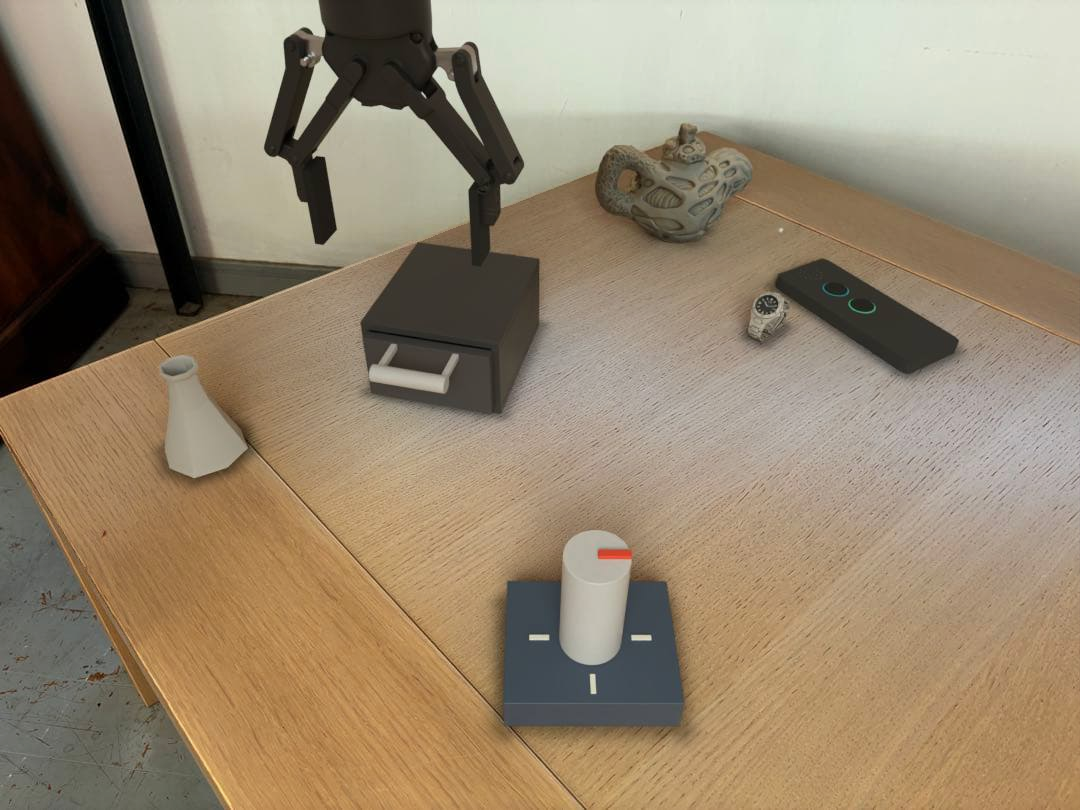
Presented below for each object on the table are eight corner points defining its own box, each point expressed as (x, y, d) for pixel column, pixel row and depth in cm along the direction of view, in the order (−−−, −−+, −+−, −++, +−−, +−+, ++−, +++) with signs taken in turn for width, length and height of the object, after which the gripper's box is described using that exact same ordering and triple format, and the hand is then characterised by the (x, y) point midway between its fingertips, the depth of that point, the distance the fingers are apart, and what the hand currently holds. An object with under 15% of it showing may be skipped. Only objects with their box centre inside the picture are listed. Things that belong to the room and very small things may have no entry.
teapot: (722, 204, 115) (740, 96, 105) (764, 244, 107) (787, 130, 97) (578, 226, 110) (583, 114, 100) (610, 269, 102) (618, 152, 92)
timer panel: (503, 726, 56) (503, 702, 54) (507, 604, 64) (507, 579, 62) (679, 726, 57) (685, 702, 55) (662, 605, 64) (666, 579, 62)
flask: (262, 450, 77) (238, 365, 70) (190, 490, 73) (157, 404, 66) (221, 414, 81) (195, 330, 74) (151, 451, 77) (116, 365, 70)
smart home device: (825, 255, 101) (963, 338, 88) (821, 268, 103) (957, 351, 90) (774, 273, 98) (910, 362, 85) (771, 286, 99) (905, 376, 86)
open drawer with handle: (475, 448, 76) (472, 388, 71) (350, 426, 78) (338, 366, 73) (528, 329, 90) (528, 272, 86) (421, 313, 93) (415, 257, 88)
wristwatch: (738, 337, 91) (746, 299, 88) (768, 314, 95) (777, 277, 91) (766, 351, 89) (775, 312, 86) (795, 327, 93) (805, 289, 90)
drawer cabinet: (501, 414, 81) (499, 343, 75) (371, 392, 83) (359, 321, 78) (539, 325, 93) (539, 258, 87) (424, 308, 95) (417, 241, 89)
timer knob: (559, 665, 57) (563, 581, 51) (558, 611, 60) (561, 526, 54) (624, 665, 57) (635, 581, 51) (619, 611, 60) (629, 526, 54)
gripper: (567, -38, 55) (559, 244, 69) (229, -61, 60) (284, 208, 73) (541, -9, 50) (538, 291, 64) (170, -37, 54) (242, 250, 68)
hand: (402, 247), depth 69 cm, fingers open, 13 cm apart
